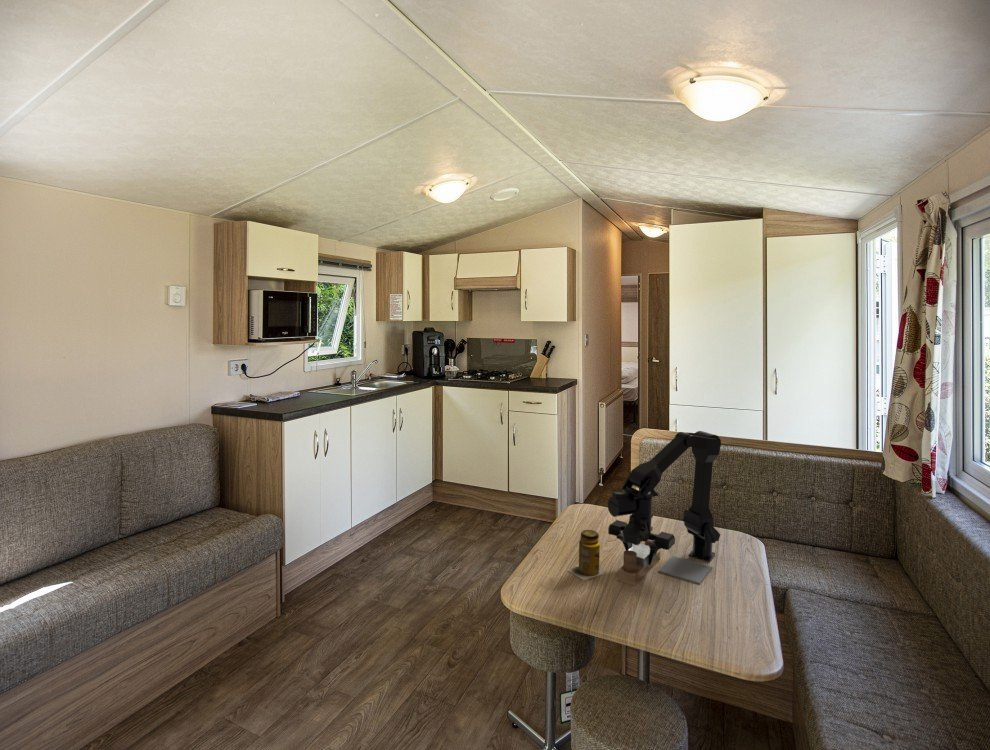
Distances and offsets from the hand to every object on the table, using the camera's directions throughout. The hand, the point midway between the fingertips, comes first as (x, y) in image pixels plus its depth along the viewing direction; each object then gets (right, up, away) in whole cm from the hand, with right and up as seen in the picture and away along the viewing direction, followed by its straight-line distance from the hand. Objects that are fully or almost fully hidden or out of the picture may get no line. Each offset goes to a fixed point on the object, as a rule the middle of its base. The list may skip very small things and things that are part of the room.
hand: (639, 561), depth 159 cm
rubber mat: (+14, -3, 0) cm, 14 cm away
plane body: (0, -3, 0) cm, 2 cm away
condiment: (-16, -3, -1) cm, 17 cm away
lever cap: (0, 0, 0) cm, 0 cm away
